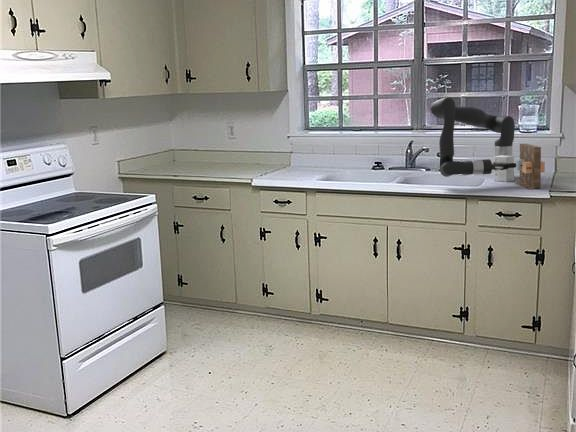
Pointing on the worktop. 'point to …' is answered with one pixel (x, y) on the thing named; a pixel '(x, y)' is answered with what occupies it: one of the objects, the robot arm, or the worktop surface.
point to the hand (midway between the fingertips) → (515, 165)
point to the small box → (507, 173)
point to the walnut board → (534, 156)
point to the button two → (531, 167)
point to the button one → (519, 164)
